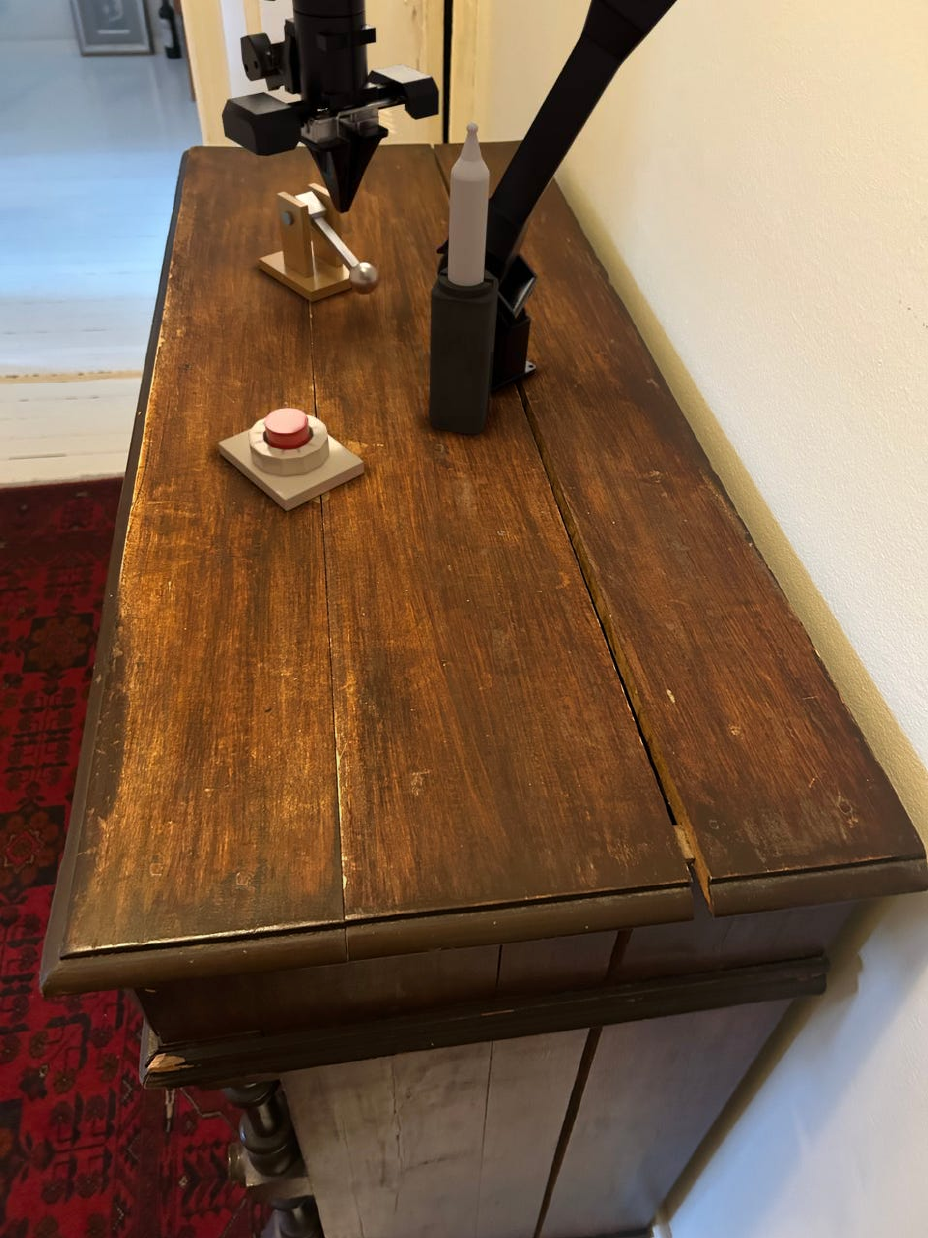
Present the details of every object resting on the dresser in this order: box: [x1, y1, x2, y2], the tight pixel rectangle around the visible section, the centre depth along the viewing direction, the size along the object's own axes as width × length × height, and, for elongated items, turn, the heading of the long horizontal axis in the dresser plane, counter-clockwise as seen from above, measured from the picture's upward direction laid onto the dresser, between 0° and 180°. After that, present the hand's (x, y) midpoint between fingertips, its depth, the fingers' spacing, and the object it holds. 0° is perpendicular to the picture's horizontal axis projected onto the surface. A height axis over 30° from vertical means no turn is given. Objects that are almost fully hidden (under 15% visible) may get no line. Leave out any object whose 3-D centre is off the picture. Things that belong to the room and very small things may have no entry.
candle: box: [428, 121, 499, 435], centre depth 72 cm, size 5×5×25 cm
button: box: [264, 407, 310, 450], centre depth 72 cm, size 4×4×2 cm
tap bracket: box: [258, 182, 352, 303], centre depth 95 cm, size 10×8×9 cm
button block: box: [217, 414, 365, 512], centre depth 74 cm, size 10×8×3 cm
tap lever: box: [294, 191, 380, 296], centre depth 93 cm, size 13×3×3 cm, turn 44°
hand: (342, 210), depth 80 cm, fingers closed
